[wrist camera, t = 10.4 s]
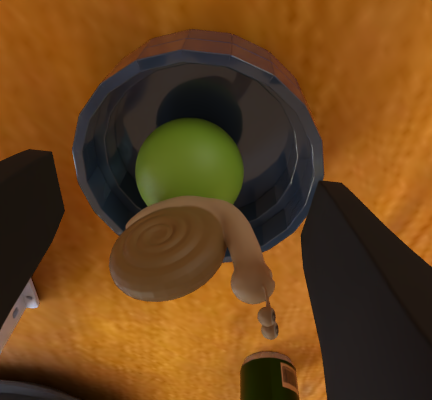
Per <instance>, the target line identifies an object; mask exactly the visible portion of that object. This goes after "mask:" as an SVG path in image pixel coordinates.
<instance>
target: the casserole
mask: <svg viewBox="0 0 432 400" xmlns="http://www.w3.org/2000/svg"><path fill="white" fill-rule="evenodd" d="M0 400H82V399H79V398H76V397H73V396H70V395H69V394H67V393H64V392H62V391H60V390H57V389H55V388H52V387H49V386H45V385H41V384H37V383H31V382H25V381H9V380H0Z"/></svg>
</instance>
